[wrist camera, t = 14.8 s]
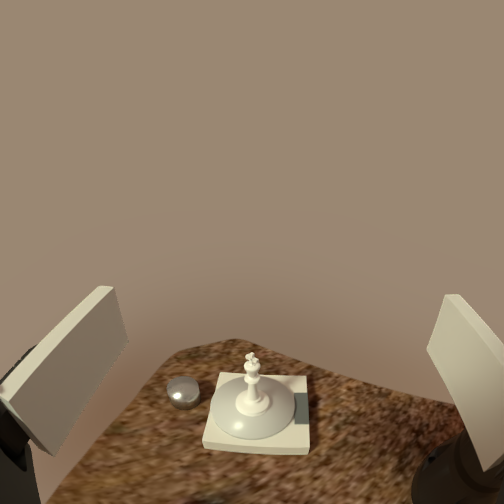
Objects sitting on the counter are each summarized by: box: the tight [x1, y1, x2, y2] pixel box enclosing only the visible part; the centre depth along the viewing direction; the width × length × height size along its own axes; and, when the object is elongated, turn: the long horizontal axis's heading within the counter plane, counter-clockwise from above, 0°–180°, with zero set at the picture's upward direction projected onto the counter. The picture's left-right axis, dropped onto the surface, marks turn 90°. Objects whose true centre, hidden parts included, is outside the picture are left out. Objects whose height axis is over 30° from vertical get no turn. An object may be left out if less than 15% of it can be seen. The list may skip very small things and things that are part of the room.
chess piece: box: [236, 352, 270, 417], centre depth 35 cm, size 5×5×10 cm
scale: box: [202, 372, 310, 455], centre depth 37 cm, size 14×14×3 cm
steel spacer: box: [167, 376, 201, 410], centre depth 40 cm, size 5×5×3 cm
